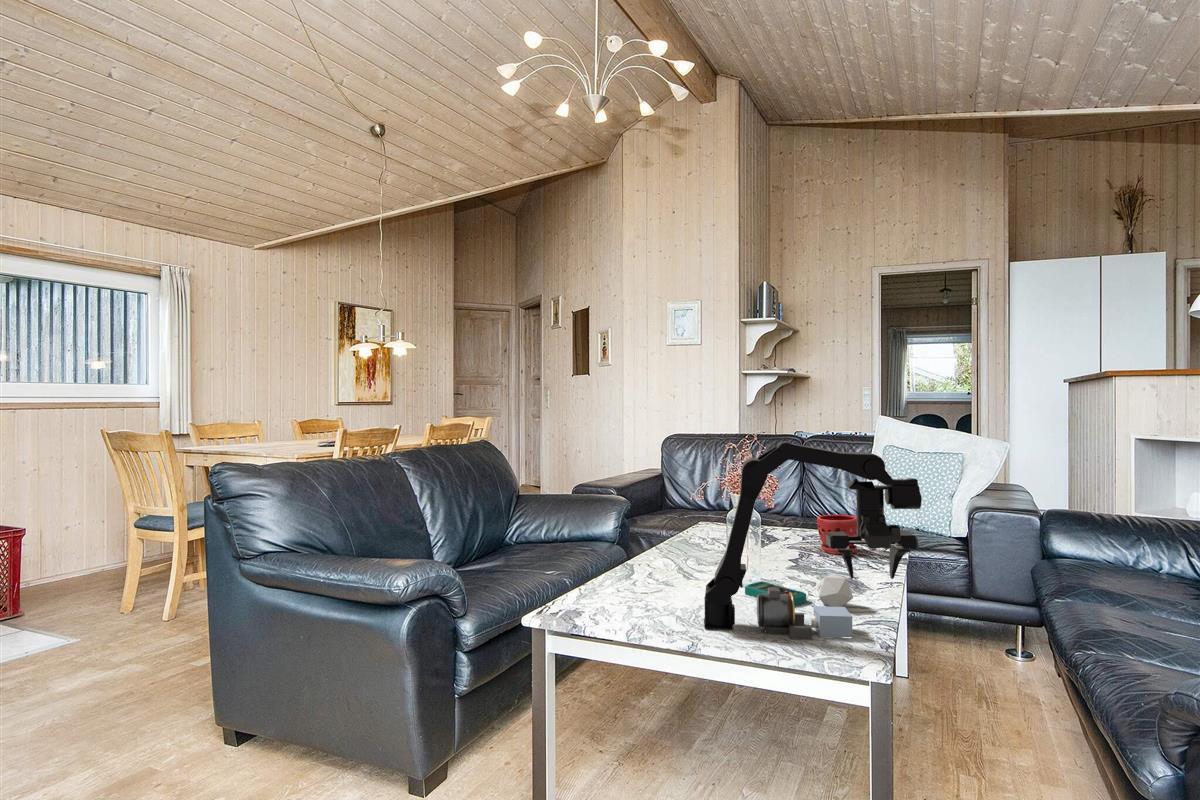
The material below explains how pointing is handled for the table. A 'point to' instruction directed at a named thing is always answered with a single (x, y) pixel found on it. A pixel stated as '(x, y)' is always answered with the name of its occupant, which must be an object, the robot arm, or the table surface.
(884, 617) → the table surface
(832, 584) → the die
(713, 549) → the table surface
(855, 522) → the plant pot
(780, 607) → the cylinder
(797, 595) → the digital multimeter
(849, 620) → the blue-gray block
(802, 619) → the clip bracket
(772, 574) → the table surface
